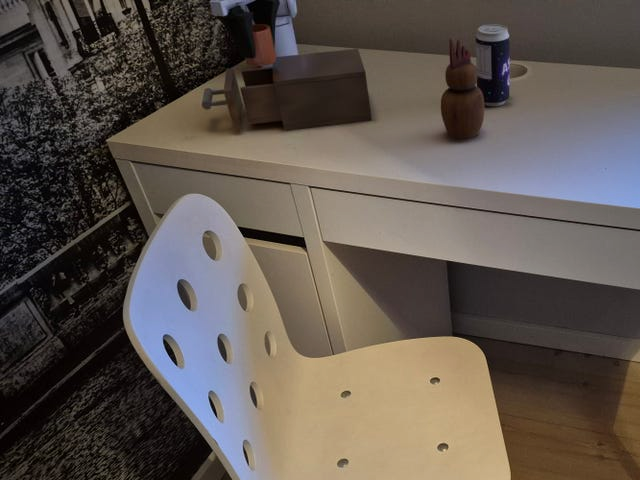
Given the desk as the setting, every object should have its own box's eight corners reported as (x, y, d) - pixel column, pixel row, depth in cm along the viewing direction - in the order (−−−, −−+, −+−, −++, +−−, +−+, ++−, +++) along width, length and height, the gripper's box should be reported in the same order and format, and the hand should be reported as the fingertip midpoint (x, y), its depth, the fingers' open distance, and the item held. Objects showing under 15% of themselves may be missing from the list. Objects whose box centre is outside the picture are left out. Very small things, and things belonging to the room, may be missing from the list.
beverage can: (506, 108, 115) (506, 34, 107) (474, 107, 116) (472, 33, 108) (511, 96, 119) (512, 24, 111) (480, 94, 120) (479, 22, 112)
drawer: (207, 132, 109) (195, 94, 104) (211, 108, 116) (200, 71, 112) (317, 120, 111) (309, 81, 107) (314, 97, 119) (306, 60, 115)
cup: (278, 55, 111) (271, 23, 108) (274, 65, 108) (267, 32, 104) (249, 57, 111) (241, 24, 108) (244, 67, 107) (236, 33, 104)
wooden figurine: (450, 146, 105) (445, 45, 95) (437, 132, 109) (431, 34, 99) (490, 137, 107) (488, 38, 97) (475, 124, 111) (473, 27, 101)
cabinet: (284, 130, 111) (273, 81, 105) (282, 104, 119) (272, 57, 114) (372, 120, 113) (365, 71, 107) (364, 95, 121) (358, 48, 116)
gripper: (243, -56, 105) (264, 36, 115) (182, -35, 95) (210, 64, 105) (281, -53, 103) (299, 40, 113) (223, -32, 94) (248, 68, 103)
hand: (259, 52), depth 108 cm, fingers closed on cup, 5 cm apart
